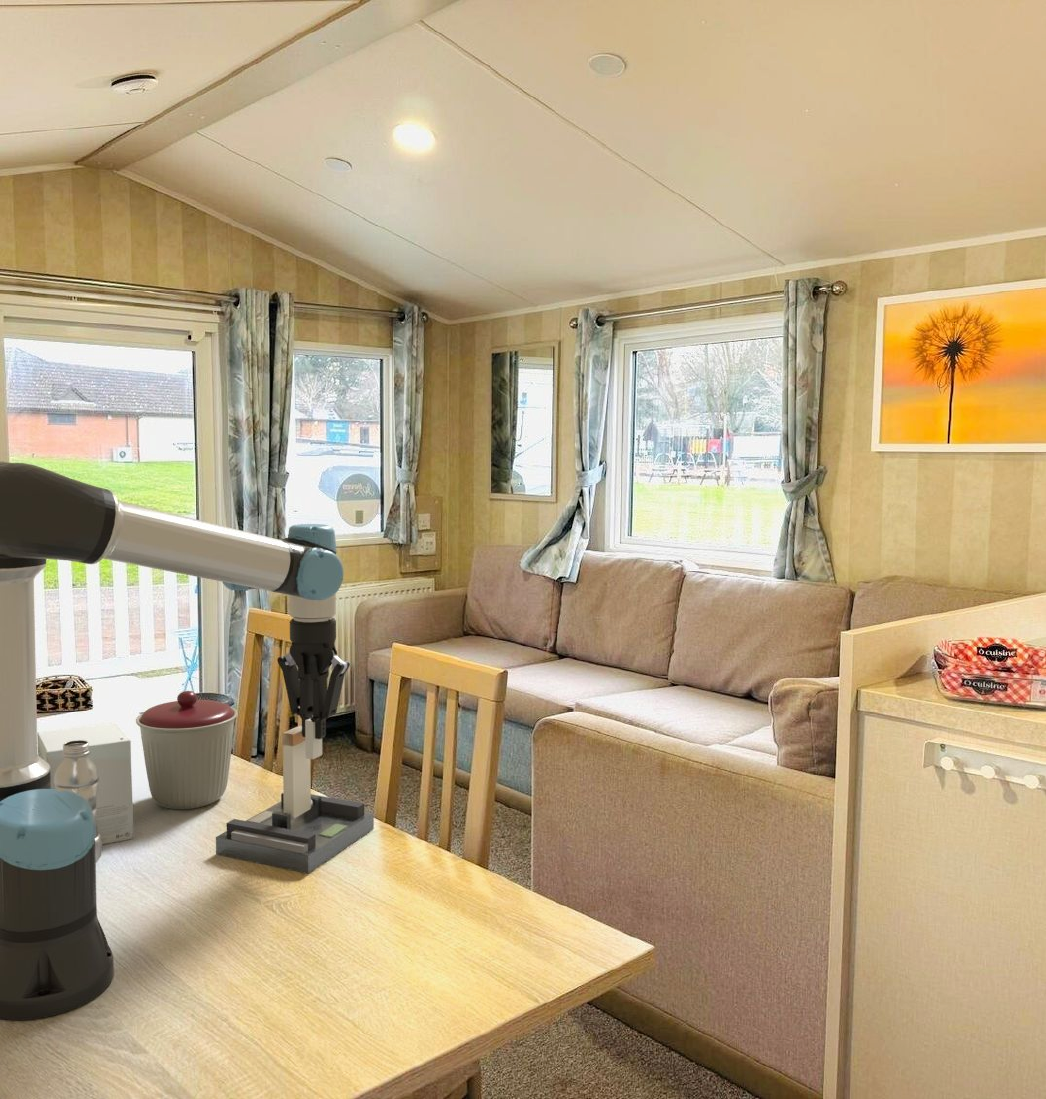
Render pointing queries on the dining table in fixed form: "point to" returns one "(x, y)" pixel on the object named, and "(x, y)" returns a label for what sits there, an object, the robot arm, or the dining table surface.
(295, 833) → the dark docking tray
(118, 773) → the supplement box
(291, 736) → the lever
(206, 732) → the canister
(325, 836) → the panel
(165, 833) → the dining table surface
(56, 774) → the plastic bottle
